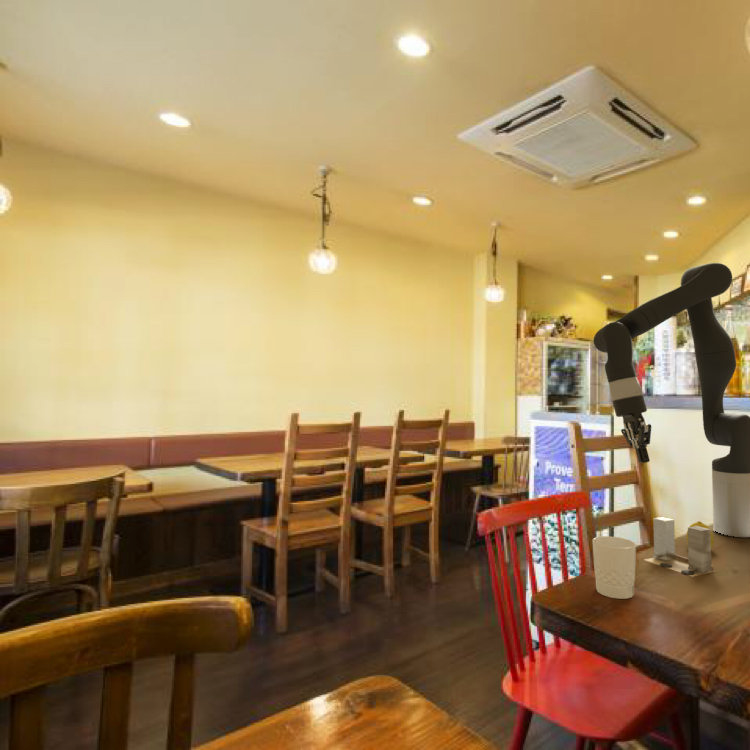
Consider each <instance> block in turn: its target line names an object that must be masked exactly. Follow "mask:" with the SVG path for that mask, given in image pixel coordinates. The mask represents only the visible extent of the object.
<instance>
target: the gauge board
mask: <svg viewBox="0 0 750 750" xmlns="http://www.w3.org/2000/svg"><path fill="white" fill-rule="evenodd" d="M687 531H688V542H687V546H688V547H687V548H688V552H687V555H688V557H685V556H681V555H678V554H676V553H675V559H674V560H670V561H664V560H661V559H658V558H657V559H656V558H653V557H650V558H646V559H643V561H645V562H648V563H650V564H655V565H657V566H660V567H663V568H665V569H668V570H672V571H675V572H677V573H681V574H683V575H686V576H689V577H692V578H693V577H697V576H701V575H707V574H709V573H711V574H712V573H714V572H716V570H715V566H714V565H712V548H711V531H712V529H711V528H710V529H708V528H703V527H699V526H693V527H689V526H688V527H687Z"/></svg>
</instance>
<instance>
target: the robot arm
mask: <svg viewBox="0 0 750 750" xmlns="http://www.w3.org/2000/svg"><path fill="white" fill-rule="evenodd" d="M732 282H733V274H732V271H731V269H730V268H729V267H728V266H727V265H726V264H723V263H720V262H710V263H704V264H700V265H696V266H693V267H690V268H687V269H686V270H685V271H684V272H683V274H682V276H681V279H680V286H678V287H677V288H674V289H673V290H670V291H668V292H666V293H663V294H661V295H659V296H656V297H654V298H651V299H649V300H648V301H646V302H644V303H642V304H641V305H638V306H637V307H635V308H633V309H632V310H630V311H628V312H627V313H626V314H625V315H623V316H622V317H621V318H619V319H617V320H615V321H613V322H608V323H607V324H606V325H604V326H603V327H601V328H600V329H599V330H597V332H596V333H595V334H594V337H593V345H594V346H595V348H596V349H597V350H598V351H599V352H600V353H606V354H607V361H606V362H605V365H604V371H605V375H606V380H607V382H608V385H609V386H608V388H609V394H610V398H611V401H612V405H613V409H614V413H615V416H616V417H617V418H620V417H622V420H623V421H622V422H623V428H622V429H620V432H621V434H622V435H623V437H624V439H625V440H626V442H627V443H628V445H629V447H630V448H631V447H632V448H633V449H635V453H636V457H637V459H638V460H637V461H638V463H640V464H645V463H646V464H647V463H650V462H651V461H650V455H649V452H648V449H647V448H648V445H651V435H652V425H651V423H648V424H647V423H646V421H645V418H644V416H643V413H646V412H648V408H647V405H646V402H645V398H644V394H643V389H642V387H641V384H640V382H639V379H638V375H637V371H636V368H635V365H634V361H633V341H632V340H634V339H635V338H636V337H639V336H641V335H643V334H646V333H647V332H649V331H650V330H652V329H654V328H656V327H658V326H659V325H661V324H662V323H664V322H665V321H667V320H669V319H671V318H673V317H674V316H676V315H678V314H679V313H681V312H683V311H685V310H686V312H687V315H688V320H689V324H690V331H691V336H692V341H693V347H694V355H695V362H696V363H695V364H696V368H697V372H698V378H699V379H698V380H699V384H700V393H701V404H702V405H701V407H702V423H703V424H702V425H703V431H704V435H705V438H706V440H707V441H708V442H709V443H710V444H711V445H715V446H723V447H730V448H729V453H728V454H726V455H725V456H722V457H718V458H715V459H712V462H711V479H712V525H713V526H712V527H713V529H712V530H713V531H714V532H715V531H716V532H718V533H717V534H719V533H721V534H720V535H723V534H724V535H723V536H727V535H728V537H733V536H734V537H735V538H750V416H749V415H748V414H744V413H728V412H725V409H724V395H725V391H726V389H727V387H728V385H729V383H730V382H731V380H732V378H733V376H734V374H735V373H736V372H735V371H736V369H737V360H736V359H737V358H736V353H735V347H734V346H735V345H734V343H733V339H732V338H731V336H730V335H729V333H728V331H727V330H726V329H725V328H724V326H723V325H722V323H721V322H720V321H719V319H718V318H717V316H716V314H715V310H714V305H713V298H715V297H718V296H720V295H722V294H724V293H726V292H727V291H728V290H729V288H730V287H731V285H732ZM716 532H715V533H716Z"/></svg>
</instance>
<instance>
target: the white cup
mask: <svg viewBox="0 0 750 750" xmlns="http://www.w3.org/2000/svg"><path fill="white" fill-rule="evenodd" d="M636 552H637V543H636V542H634V541H632V540H630V539H628V538H624V537H618V536H606V535H605V536H596V537H594V538H592V554H593V567H594V577H595V588H596V589H595V590H596V591H597V593H598V594H600V595H602V596H605V597H606V598H611V599H618V600H620V599H621V600H622V599H623V600H626V599H630V598H632V597H634V595H635V579H636V555H637V553H636Z"/></svg>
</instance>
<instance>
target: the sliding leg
mask: <svg viewBox="0 0 750 750" xmlns="http://www.w3.org/2000/svg"><path fill="white" fill-rule="evenodd" d="M675 530H676V529H675V519H671V518H669V517H664V516H660V517H659V516H658V517H654V518H653V555H652V558H656V559H657V558H658V559H661V560H664V561H670V560H674V559H675V554H676V539H675V537H676V536H675V533H676V531H675Z"/></svg>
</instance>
